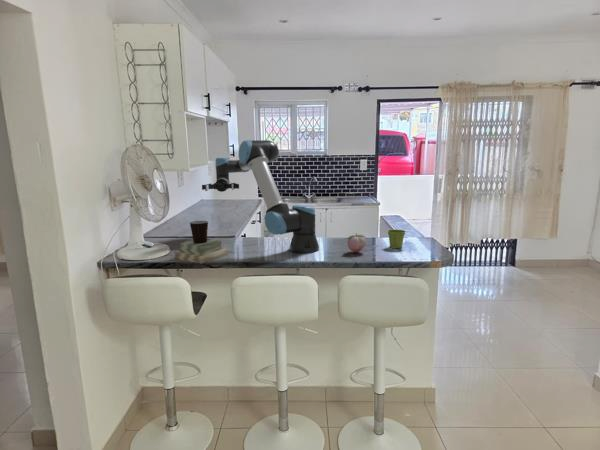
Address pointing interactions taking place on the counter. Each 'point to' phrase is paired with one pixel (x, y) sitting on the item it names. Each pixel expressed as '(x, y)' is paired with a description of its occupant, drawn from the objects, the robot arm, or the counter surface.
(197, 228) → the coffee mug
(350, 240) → the decorative fruit
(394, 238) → the plant pot
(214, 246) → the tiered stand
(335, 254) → the counter surface
